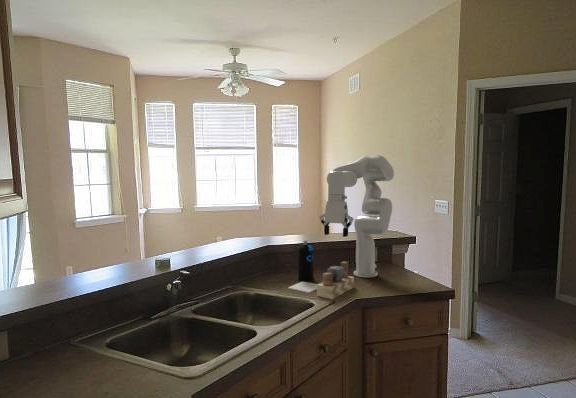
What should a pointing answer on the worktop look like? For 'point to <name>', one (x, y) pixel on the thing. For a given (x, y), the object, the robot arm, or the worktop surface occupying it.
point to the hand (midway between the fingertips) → (335, 235)
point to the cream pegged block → (335, 284)
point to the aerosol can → (305, 262)
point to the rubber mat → (304, 287)
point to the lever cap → (336, 272)
